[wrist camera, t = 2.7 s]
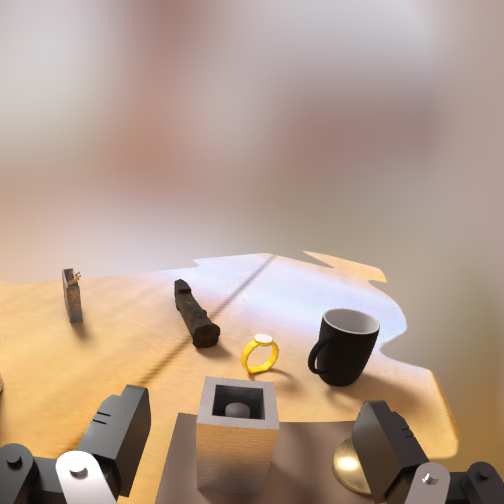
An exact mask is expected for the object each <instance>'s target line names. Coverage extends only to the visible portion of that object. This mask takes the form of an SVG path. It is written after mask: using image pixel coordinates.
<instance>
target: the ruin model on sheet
mask: <svg viewBox="0 0 504 504" xmlns="http://www.w3.org/2000/svg"><path fill="white" fill-rule="evenodd" d="M78 274H79V272H78V273H77V274H74V271H73V268H69V269H62V276H63V288H64V298H65V303H66V308H67V312H68V316H69V319H70V323H73V322H81V321H83V320H82V311H81V301H80V289H79V286H78V282H77V280H79V277H80V276H79V275H78Z"/></svg>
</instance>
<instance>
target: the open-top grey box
mask: <svg viewBox="0 0 504 504" xmlns="http://www.w3.org/2000/svg"><path fill="white" fill-rule="evenodd" d="M231 403H243V404H245V405H247V406H248V407H249V408H250V417H249V419H244V418H232V417H225V411H226V407H227V406H228V405H229V404H231ZM279 430H280V429H279V420H278V412H277V403H276V395H275V387H274V382H261V381H248V380H236V379H226V378H217V377H208V376H206V377H205V382H204V387H203V392H202V397H201V402H200V407H199V412H198V417H197V422H196V463H197V489H199V490H208V491H217V492H228V493H242V494H262V491H263V488H264V485H265V481H266V478H267V474H268V471H269V467H270V464H271V460H272V456H273V453H274V449H275V445H276V441H277V437H278V434H279Z"/></svg>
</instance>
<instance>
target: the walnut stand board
mask: <svg viewBox="0 0 504 504" xmlns="http://www.w3.org/2000/svg"><path fill="white" fill-rule="evenodd" d="M197 417H198V415H192V414H185V413H178V417H177V420H176V424H175V428H174V432H173V435H172V439H171V443H170V447H169V450H168V454H167V458H166V462H165V466H164V470H163V474H162V478H161V482H160V486H159V489H158V494H157V498H156V502H155V504H375V503H374V500H373V497H368V496H362V495H358V494H355V493H353V492H351V491H349V490H348V489H346V488H345V487H343V486H342V485H341V484H340V483H339V482H338V480H337V479H336V477H335V476H334V473H333V471H332V459H333V456H334V454H335V452H336V450H337V448H338V446H339V445H340V444H341V443H342V442H343V441H344V440H346V439H348V438H350V437H352V430H353V427H354V425H355V422H356V421H342V422H279V429H280V430H279V434H278V437H277V441H276V445H275V449H274V453H273V456H272V460H271V464H270V467H269V471H268V474H267V478H266V481H265V485H264V488H263V491H262V494H242V493H228V492H217V491H208V490H199V489H197V463H196V422H197ZM225 417H232V418H244V419H249V417H250V408H249V407H248V406H247V405H245V404H243V403H231V404H229V405H228V406H227V407H226V411H225ZM380 504H387V503H386V502H385V503H380Z"/></svg>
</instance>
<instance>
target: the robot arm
mask: <svg viewBox="0 0 504 504" xmlns="http://www.w3.org/2000/svg"><path fill="white" fill-rule="evenodd" d="M2 387H3V380H2V377H1V374H0V392H1V390H2ZM150 427H151V412H150V403H149V393H148V389H147V388H144V387H138V386H133V385H126V387H125V388H124V390H123V392H122V394H121V396H117V395H111V396H110V397H108V398H107V399H106V400H104V401H103V402H102V404H101V405H100V407H99V409H98V411H97V413H96V414H95V416H94V418H93V421H91V423H90V425H89V427H88V428H87V430H86V432H85V434H84V436H83V438H82V439H81V441H80V443H79V445H78V447H77V448H76V450H75V451H72V452H68V453H65V454H64V455H62V456H61V457H60V458H59V459H49V458H41V457H33V456H32V454H31V452H30V451H29V450H28V449H27V448H26V447H25V446H23V445H20V444H15V443H12V444H7V445H5V446H3V447H1V448H0V504H117V500H118V497H119V495H120V496H124V497H129V494H130V491H131V488H132V484H133V481H134V478H135V475H136V472H137V469H138V465H139V462H140V459H141V456H142V453H143V450H144V447H145V444H146V441H147V438H148V435H149V432H150ZM352 443H353V446H354V448H355V451H356V454H357V456H358V459H359V462H360V464H361V467H362V470H363V472H364V475H365V478H366V481H367V483H368V486H369V489H370V491H371V494H372V497H373V500H374V503H375V504H380V503H385V502H386V503H387V504H504V483H503V481H502V479H501V478H500V476H499V475H498V473H497V472H496V470H495V468H494V467H493V466H491V465H490V464H488V463H486V462H476V463H474V464H472V465H471V466H470V468H469V469H468V470H467V471H466V472H448V470H447V469H446V468H445V467H444V466H442V465H440V464H437V463H432V462H429V460H428V458H427V456H426V455H425V453H424V451H423V450H422V448H421V446H420V444H419V443H418V441H417V439H416V438H415V437H414V434H413V433H412V431H411V430H410V429H409V426H408V424H407V423H406V421H405V419H404V418H403V417H401V416H400V415H399V414H398V413H396V412H395V411H394V412H391V410H390V408H389V407H388V405H387V403H386V402H385V401H384V400H380V401H367V402H364V404H363V405H362V408H361V410H360V413H359V415H358V418H357V420H356V422H355V425H354V427H353V430H352Z"/></svg>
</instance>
